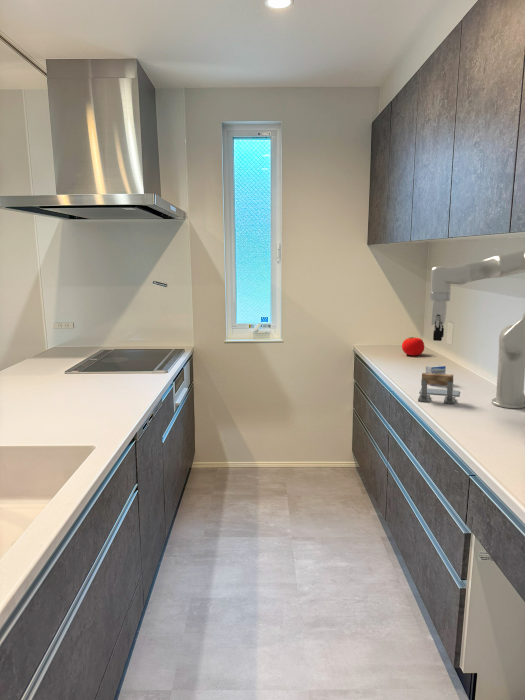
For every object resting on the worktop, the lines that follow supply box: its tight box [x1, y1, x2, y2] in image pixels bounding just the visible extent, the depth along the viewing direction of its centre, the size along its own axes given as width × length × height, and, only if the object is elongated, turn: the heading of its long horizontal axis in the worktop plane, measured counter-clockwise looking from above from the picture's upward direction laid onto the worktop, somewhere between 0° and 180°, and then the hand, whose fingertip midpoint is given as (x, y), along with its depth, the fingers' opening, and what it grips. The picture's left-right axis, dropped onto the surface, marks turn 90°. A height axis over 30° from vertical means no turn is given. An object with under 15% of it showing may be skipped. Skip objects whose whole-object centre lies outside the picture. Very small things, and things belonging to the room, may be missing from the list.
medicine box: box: [425, 364, 447, 386], centre depth 225 cm, size 8×4×9 cm, turn 105°
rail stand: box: [417, 378, 456, 405], centre depth 198 cm, size 14×8×9 cm, turn 66°
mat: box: [418, 387, 460, 397], centre depth 210 cm, size 16×8×1 cm, turn 66°
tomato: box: [401, 336, 425, 357], centre depth 295 cm, size 12×14×11 cm
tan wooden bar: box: [421, 372, 454, 387], centre depth 197 cm, size 12×3×4 cm, turn 66°
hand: (438, 338), depth 197 cm, fingers open, 9 cm apart
